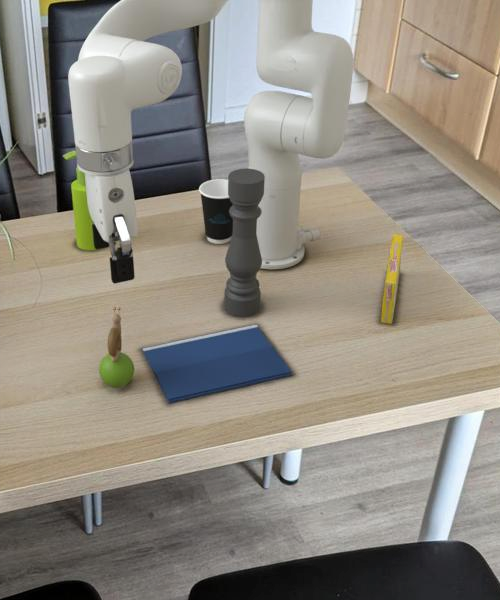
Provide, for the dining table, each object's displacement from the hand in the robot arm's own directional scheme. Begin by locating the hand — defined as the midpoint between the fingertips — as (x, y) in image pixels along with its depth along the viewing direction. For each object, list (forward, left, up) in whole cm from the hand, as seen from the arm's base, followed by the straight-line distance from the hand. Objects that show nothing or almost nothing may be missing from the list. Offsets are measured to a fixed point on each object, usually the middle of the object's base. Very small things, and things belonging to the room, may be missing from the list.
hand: (113, 263), depth 119 cm
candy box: (-50, -5, -21) cm, 55 cm away
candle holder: (-25, -11, -21) cm, 35 cm away
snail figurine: (+1, +1, -21) cm, 21 cm away
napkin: (-15, +2, -21) cm, 26 cm away
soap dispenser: (-5, -42, -21) cm, 48 cm away
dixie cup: (-30, -35, -21) cm, 51 cm away
